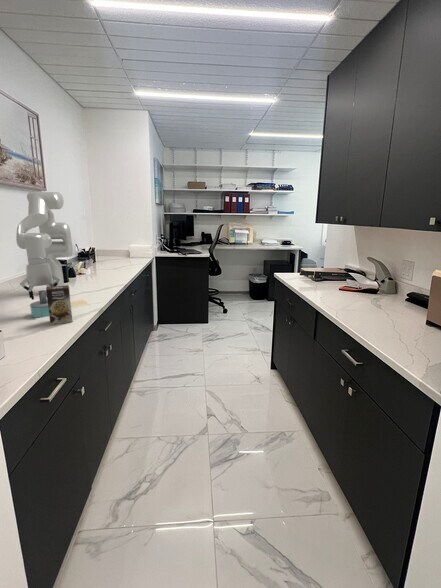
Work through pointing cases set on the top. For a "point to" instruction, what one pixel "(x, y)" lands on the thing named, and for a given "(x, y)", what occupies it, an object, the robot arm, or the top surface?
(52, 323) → the coffee box
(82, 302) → the mat
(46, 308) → the bowl
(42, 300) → the lid
